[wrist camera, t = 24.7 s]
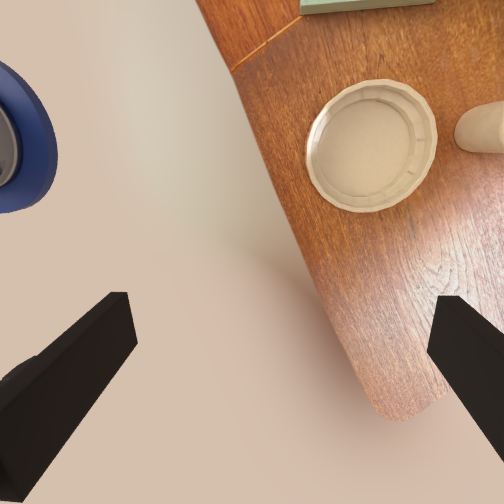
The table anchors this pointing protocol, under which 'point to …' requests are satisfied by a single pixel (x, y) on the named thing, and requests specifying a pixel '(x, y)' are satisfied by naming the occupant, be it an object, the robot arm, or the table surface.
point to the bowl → (371, 145)
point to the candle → (482, 129)
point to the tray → (352, 5)
